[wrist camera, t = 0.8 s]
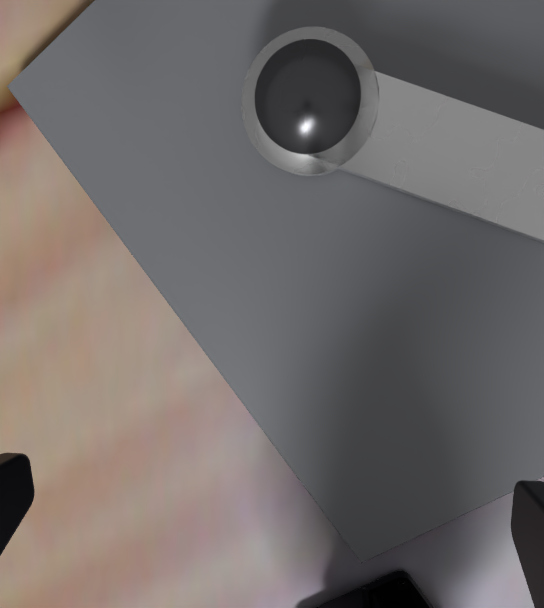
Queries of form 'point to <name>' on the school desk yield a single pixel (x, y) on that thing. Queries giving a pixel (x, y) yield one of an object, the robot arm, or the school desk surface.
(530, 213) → the link
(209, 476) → the school desk surface
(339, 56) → the glossy black ball
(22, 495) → the robot arm
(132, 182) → the base plate
